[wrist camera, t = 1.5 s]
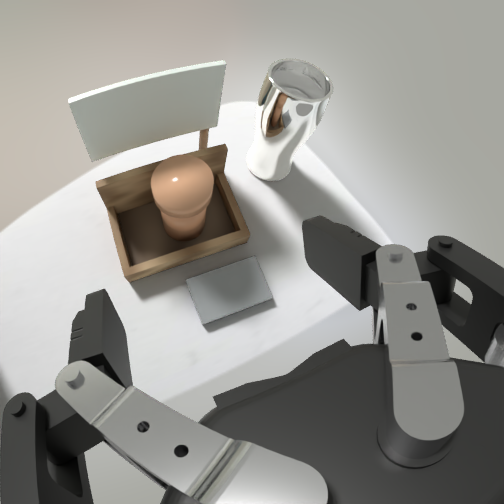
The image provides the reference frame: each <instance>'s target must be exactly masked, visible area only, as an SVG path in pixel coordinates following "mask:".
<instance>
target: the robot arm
mask: <svg viewBox="0 0 504 504" xmlns="http://www.w3.org/2000/svg"><path fill="white" fill-rule="evenodd" d="M302 230H303V240H304V250H305V258H306V261H307V263H308V265H309V267H310V268H311V269H312V270H313V271H314V272H315V273H316V274H318V275H319V276H320V277H321V278H322V279H323V280H325V281H326V282H327V283H328V284H329V285H330V286H332V287H333V288H334V289H335V290H336V291H337V292H338V293H340V294H341V295H342V296H343V297H344V298H345V299H346V300H348V301H349V302H350V303H351V304H352V305H353V306H354V307H356V308H357V309H358V310H359V311H360V310H362V309H364V308H366V307H368V306H370V305H371V306H372V307H373V308H372V327H373V344H361V345H356V346H350V345H349V344H348V343H347V342H346V341H345V340H344V339H342V340H340V341H338V342H336V343H334V344H332V345H330V346H328V347H326V348H324V349H322V350H320V351H318V352H316V353H314V354H313V355H312V356H310V357H309V358H308V359H306V360H305V361H304V362H303V363H301V364H300V365H299V366H298V367H296V368H295V369H294V370H293V371H291V372H290V373H288V374H286V375H283V376H279V377H275V378H271V379H265V380H261V381H256V382H251V383H247V384H244V385H241V386H239V387H236V388H234V389H232V390H229V391H227V392H224V393H221V394H219V395H216V396H214V397H213V398H214V401H215V403H216V405H217V407H216V408H214V409H212V410H211V411H210V412H209V413H207V414H206V415H205V416H204V417H203V418H202V419H201V420H200V421H199V422H198V423H197V422H195V421H193V420H191V419H190V418H187V417H186V416H184V415H182V414H180V413H178V412H177V411H175V410H173V409H171V408H169V407H167V406H166V405H164V404H162V403H161V402H159V401H157V400H156V399H154V398H152V397H150V396H149V395H147V394H146V393H144V392H142V391H141V390H139V389H137V388H136V387H134V386H133V383H132V376H131V369H130V362H129V354H128V346H127V338H126V333H125V329H124V326H123V324H122V322H121V320H120V318H119V316H118V314H117V312H116V310H115V307H114V305H113V303H112V301H111V299H110V297H109V295H108V293H107V291H106V290H105V289H102V290H99V291H96V292H93V293H90V294H88V295H86V301H85V310H82V311H79V312H78V313H77V315H76V317H75V318H74V320H73V322H72V330H71V331H72V333H71V341H70V349H69V360H68V365H67V366H66V367H64V368H63V369H62V370H61V371H60V373H59V374H58V376H57V378H56V381H55V388H56V389H55V390H54V391H52V392H51V393H49V394H48V395H46V396H44V397H42V398H41V399H39V400H36V399H35V397H34V396H33V395H32V394H30V393H26V392H25V393H20V394H17V395H16V396H14V397H13V398H12V399H11V400H10V401H9V402H8V403H7V405H6V407H5V409H4V413H3V422H2V433H1V449H0V501H1V504H94V503H93V499H92V494H91V489H90V484H89V479H88V473H87V468H86V461H85V455H84V452H85V451H87V450H89V449H90V448H92V447H94V446H95V445H97V444H99V443H100V442H102V441H104V442H105V443H106V444H107V445H108V446H109V447H111V448H112V449H113V450H114V451H115V452H117V453H118V454H119V455H120V456H121V457H123V458H124V459H125V460H126V461H128V462H129V463H130V464H131V465H133V466H134V467H135V468H137V469H138V470H140V471H141V472H142V473H143V474H145V475H146V476H147V477H148V478H150V479H151V480H152V481H154V482H155V483H156V484H158V485H159V486H161V487H162V488H163V489H165V490H166V492H165V494H164V496H163V499H162V501H161V503H160V504H504V268H502V267H501V266H499V265H498V264H496V263H495V262H493V261H491V260H490V259H488V258H486V257H485V256H483V255H481V254H480V253H478V252H477V251H475V250H473V249H472V248H470V247H468V246H466V245H465V244H463V243H461V242H460V241H458V240H456V239H454V238H452V237H449V236H434V237H432V238H430V239H429V241H428V248H427V251H422V252H417V253H413V252H412V251H411V250H410V249H409V248H407V247H405V246H402V245H396V244H390V245H385V246H380V245H379V244H377V243H375V242H374V241H372V240H370V239H369V238H367V237H365V236H362V234H360V233H358V232H357V231H356V232H355V230H353V229H351V228H350V227H348V226H346V225H342V224H338V223H333V222H332V221H330V220H328V219H327V218H325V217H323V216H317V217H314V218H311V219H308V220H305V221H303V224H302ZM456 279H458V280H459V281H461V282H462V283H463V284H465V285H466V286H467V287H469V288H470V290H471V292H472V295H473V300H472V304H469V303H468V302H467V301H465V300H464V299H463V298H461V297H460V296H459V295H458V294H456V293H455V292H453V291H454V286H455V282H456ZM442 325H443V326H444V327H445V328H446V329H447V330H449V331H450V332H451V333H452V334H453V335H454V336H455V337H457V338H458V339H459V340H460V341H461V342H462V343H463V344H465V345H466V346H467V347H468V348H469V349H470V350H471V351H472V352H474V353H475V354H476V355H477V356H478V357H479V358H480V359H481V360H482V361H483V362H485V363H480V362H474V361H467V360H462V359H456V358H450V357H449V354H448V349H447V345H446V340H445V336H444V332H443V328H442Z"/></svg>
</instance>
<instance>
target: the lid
mask: <svg viewBox="0 0 504 504" xmlns="http://www.w3.org/2000/svg"><path fill="white" fill-rule="evenodd" d="M225 68H226V63H225V61H224V60H223V61H216V62H210V63H203V64H197V65H192V66H186V67H182V68H176V69H171V70H167V71H162V72H158V73H153V74H149V75H145V76H141V77H137V78H133V79H129V80H126V81H122V82H119V83H116V84H112V85H108V86H105V87H102V88H99V89H96V90H93V91H89V92H86V93H84V94H81V95H78V96H75V97H72V98H69V105H70V108H71V110H72V113H73V116H74V118H75V121H76V124H77V126H78V129H79V132H80V134H81V136H82V139H83V141H84V144H85V146H86V149H87V151H88V154H89V156H90V158H91V160H92V162H93V161H96V160H99V159H102V158H105V157H108V156H111V155H114V154H117V153H120V152H123V151H127V150H130V149H133V148H136V147H140V146H143V145H146V144H150V143H153V142H157V141H160V140H164V139H168V138H172V137H175V136H179V135H183V134H187V133H191V132H195V131H199V130H204V129H208V128H212V127H217V124H218V116H219V109H220V102H221V95H222V88H223V82H224V75H225Z"/></svg>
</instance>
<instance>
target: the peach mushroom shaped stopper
mask: <svg viewBox="0 0 504 504" xmlns="http://www.w3.org/2000/svg"><path fill="white" fill-rule="evenodd" d="M213 184H214V177H213V173H212V171H211V169H210V167H209V166H208V165H207V164H206V163H205V162H204V161H203V160H201V159H199V158H197V157H195V156H191V155H176V156H172V157H169V158H167V159H165V160H164V161H162V162H161V163H160V164H159V165H158V166H157V167H156V169H155V170H154V172H153V174H152V178H151V188H152V193H153V197H154V201H155V204H156V205H157V207H158V208H159V209H160V211H161V216H162V221H163V226H164V229H165V231H166V233H167V234H168V235H169V236H170V237H171V238H172V239H174V240H177V241H182V242H185V241H191V240H193V239H195V238H197V237H198V236H199V235H200V234H201V233H202V231H203V229H204V227H205V219H206V209H207V206H208V204H209V203H210V201H211V198H212V192H213Z"/></svg>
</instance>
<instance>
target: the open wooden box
mask: <svg viewBox="0 0 504 504" xmlns="http://www.w3.org/2000/svg"><path fill="white" fill-rule="evenodd" d="M208 132H209V128H208V129H204V130H200V138H199V150H198V151H194V152H191V153H187V154H183V155H191V156H195V157H197V158H199V159H201V160H203V161H204V162H205V163H206V164H207V165H208V166H209V167H210V169H211V171H212V173H213V177H214V184H213V192H212V198H211V201H210V203H209V204H208V206H207V209H206V219H205V227H204V229H203V231H202V233H201V234H200V235H199V236H198V237H197V238H195V239H193V240H191V241H185V242H182V241H177V240H174V239H172V238H171V237H170V236H169V235H168V234H167V233H166V231H165V229H164V226H163V221H162V216H161V211H160V209H159V208H158V207H157V205H156V204H155V201H154V197H153V193H152V188H151V178H152V174H153V172H154V170H155V169H156V167H157V166H158V165H159V164H160V163H161V162H162V161H164V160H162V161H158V162H155V163H151V164H148V165H145V166H142V167H138V168H135V169H132V170H129V171H126V172H123V173H120V174H117V175H114V176H111V177H108V178H105V179H102V180H99V181H96V187H97V190H98V192H99V194H100V196H101V198H102V200H103V202H104V204H105V206H106V208H107V211H108V216H109V220H110V224H111V228H112V232H113V236H114V240H115V244H116V248H117V252H118V256H119V259H120V263H121V266H122V270H123V273H124V277H125V278H126V279H127V280H128V282H132V281H135V280H138V279H141V278H143V277H146V276H149V275H152V274H155V273H158V272H161V271H164V270H167V269H170V268H173V267H176V266H179V265H182V264H184V263H187V262H190V261H193V260H196V259H199V258H202V257H205V256H208V255H211V254H214V253H217V252H220V251H223V250H226V249H229V248H232V247H235V246H238V245H241V244H244V243H247V241H248V239H249V236H250V232H249V230H248V228H247V225H246V223H245V221H244V218H243V216H242V214H241V211H240V209H239V207H238V204H237V202H236V200H235V197H234V195H233V193H232V190H231V188H230V186H229V183H228V181H227V179H226V177H225V174H224V168H225V162H226V157H227V151H228V149H227V147H226V144H223V145H218V146H214V147H210V148H207V142H208ZM118 217H119V218H118ZM119 220H120V222H119ZM120 224H121V226H120ZM121 228H122V230H121ZM122 232H123V234H122ZM123 236H124V237H123ZM124 240H125V241H124ZM125 243H126V245H125ZM126 247H127V248H126ZM127 251H128V252H127ZM128 254H129V255H128ZM129 258H130V259H129ZM130 261H131V262H130ZM131 264H132V266H131Z"/></svg>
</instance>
